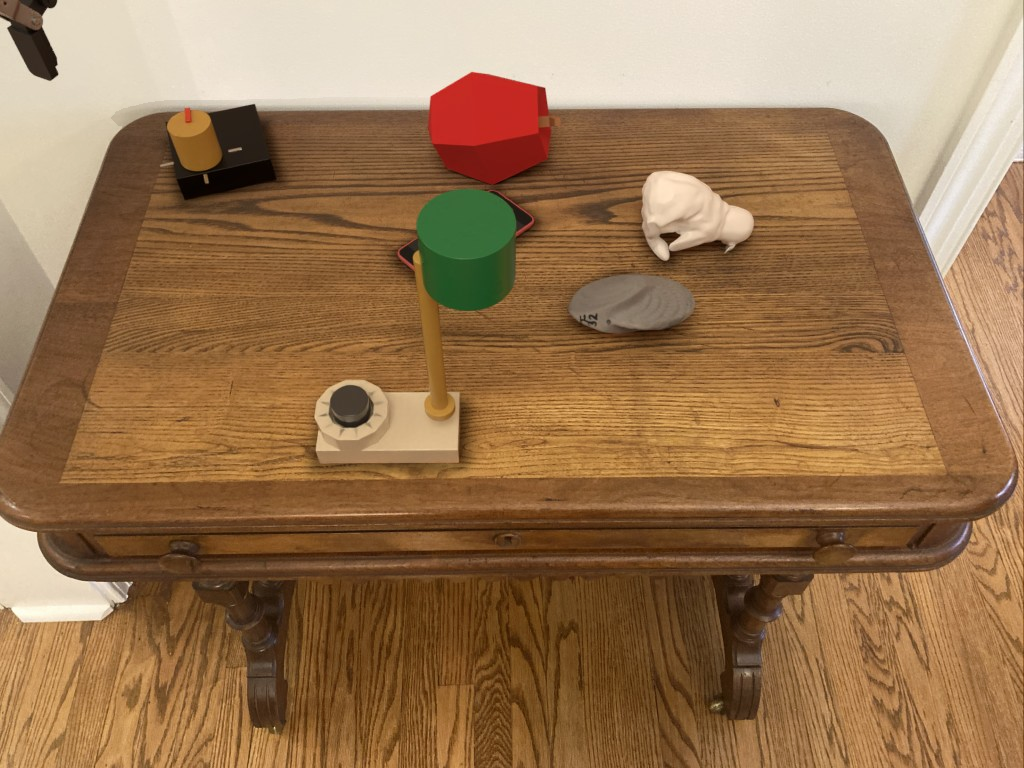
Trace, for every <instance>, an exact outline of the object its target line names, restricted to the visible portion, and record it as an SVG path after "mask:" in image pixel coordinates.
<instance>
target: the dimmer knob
mask: <svg viewBox="0 0 1024 768" xmlns="http://www.w3.org/2000/svg"><path fill="white" fill-rule="evenodd" d="M168 121H169V122H168ZM168 121H167V122H168V124H167V128H166V130H167V129H168V131H169V134H170V136H171V139H172V142H173V144H174V147H175V149H176V152H177V154H178V157H179V159H180V162H181V164H182V166H183V167H184V168H186V169H188V170H191V171H204V170H208V169H210V168H213V167H214V166H216V165H217V164H218V163H219V162H220V161H221V159H222V151H221V148H220V145H219V142H218V139H217V136H216V133H215V130H214V127H213V125H212V122H211V119H210V117H209V115H208V114H207V113H206V111H204V110H203V111H202V110H199V109H191V108H190V107H184V110H183V111H180V112H178V113H176V114H174V115H173V116H172V117H170V119H169V120H168Z"/></svg>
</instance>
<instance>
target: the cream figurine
mask: <svg viewBox="0 0 1024 768" xmlns="http://www.w3.org/2000/svg"><path fill="white" fill-rule="evenodd" d="M641 194H642V207H641V209H640V210H641V211H640V213H641V217H642V220H643V221H642V223H641V230H642V231H643V234H644V236H645V240H646V243H647V245H648V246H649V248H650V250H651V251H652V252H653V253H654V254H655V255H656V256H657V258H659V260H661V261H664V262H667V261H668V260H669V259H670V255H671V254H670V252H678V251H682V250H686V249H689V248H692V247H697V246H699V245H702V244H705V243H706V244H707V243H712V242H715V241H720V242H721V243H722V244H723V245H726V246H725V249H724V250H725V251H724V254H726V253H728V252H729V251H732V250H733V249H734V248H735V247H736V245H738V244H739V243H742V242H744V241H746V240H747V239H749V238H750V237H751V235H752V233H753V230H754V227H755V219H754V216H753V214H752V213H751V212H750V211H749V210H747V209H746V208H743V207H741V206H737V205H733V204H732V205H731V204H728V202H726V201H724V200H723V199H722V198H721V196H720V194H718V193H716V192H714V191H713V190H712V188H711V187H710V186H709V185H708V184H706V183H705V182H703V181H702V180H699V178H697V177H695V176H693V175H691V174H687V173H684V172H678V171H673V170H658V171H654V172H652V173H651V174H649V175H648V176H647V178H646V180H645V182H644V183H643V185H642V188H641ZM668 233H676V234H678V235H680V236H678V237H677V238H676V239H675V240H673V241H672V242H671V243H670V244H669V245H668V243H667V242H666V241H665V239H663V238H662V237H661V234H668Z"/></svg>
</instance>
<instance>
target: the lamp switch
mask: <svg viewBox="0 0 1024 768" xmlns="http://www.w3.org/2000/svg"><path fill="white" fill-rule="evenodd" d="M330 407H331V410H332V414H333V417H334V419H335V421H336V422H337V423H338V424H340V425H341V426H344V427H356V426H359V425H361V424H363V423H364V422H365V421H366V420H367V419H368V418H369V416H370V413H371V407H370V402H369V398H368V395H367V393H366V391H365V390H364V389H363V388H361V387H359V386H356V385H346V386H343V387H340V388H339V389H337V390H336V391H335V392H334V393H333V394H332V396H331V398H330Z"/></svg>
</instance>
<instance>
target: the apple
mask: <svg viewBox="0 0 1024 768" xmlns="http://www.w3.org/2000/svg"><path fill="white" fill-rule="evenodd" d="M558 126H562V119H561V117H560V116H558V115H557V114H556V115H550V110H549V105H548V97H547V90H546V87H544V86H540V85H535V84H532V83H528V82H523V81H519V80H515V79H512V78H508V77H507V78H506V77H502V76H499V75H494V74H490V73H483V72H476V71H475V72H474V71H470V72H469V73H466V75H464V76H461V77H460V78H459V79H457V80H455V81H453V82H452V83H450V84H448V85H446V86H445V87H443V88H442V89H440V90H438V91H436V92H435V93H434V94H432V95H430V97H429V109H428V120H427V132H428V135H429V138H430V141H431V144H432V146H433V148H434V149H435V151H436V153H437V155H438V156H439V158H440V160H441V162H442V164H443V165H444V167H445V168H446V169H447V170H450V171H451V172H455V173H458V174H461V175H464V176H467V177H468V178H472V179H474V180H477V181H480V182H483V183H486V184H488V185H490V186H494V185H496V184H498V183H501V182H502V181H505V180H507V179H508V178H511V177H513V176H515V175H517V174H519V173H521V172H524V171H525V170H528V169H529V168H532V167H534V166H536V165H539V164H540V163H542V162H544V161H547V160H548V159H549V151H550V143H551V138H552V137H551V135H552V127H558Z"/></svg>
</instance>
